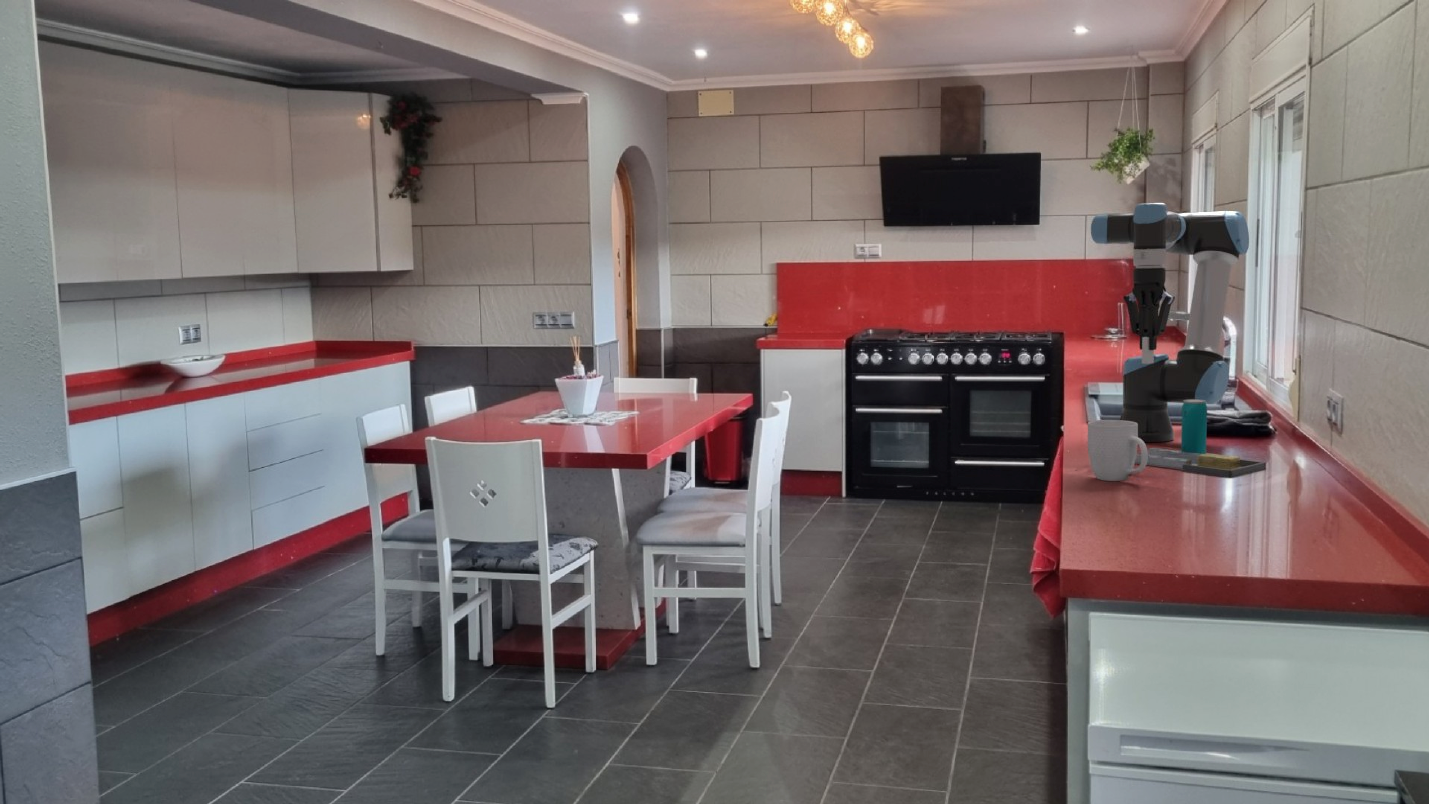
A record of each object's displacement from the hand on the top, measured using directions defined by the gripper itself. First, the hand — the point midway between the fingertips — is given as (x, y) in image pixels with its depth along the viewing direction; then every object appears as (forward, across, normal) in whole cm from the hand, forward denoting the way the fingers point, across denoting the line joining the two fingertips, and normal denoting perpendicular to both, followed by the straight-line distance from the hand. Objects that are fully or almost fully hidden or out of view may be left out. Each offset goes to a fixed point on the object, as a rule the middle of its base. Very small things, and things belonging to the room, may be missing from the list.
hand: (1147, 363), depth 303 cm
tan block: (+24, +21, -6) cm, 32 cm away
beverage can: (+25, +8, +8) cm, 27 cm away
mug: (+25, +9, -26) cm, 37 cm away
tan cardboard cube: (+24, +25, -6) cm, 35 cm away
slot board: (+24, +10, -6) cm, 27 cm away
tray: (+24, +24, -6) cm, 35 cm away
